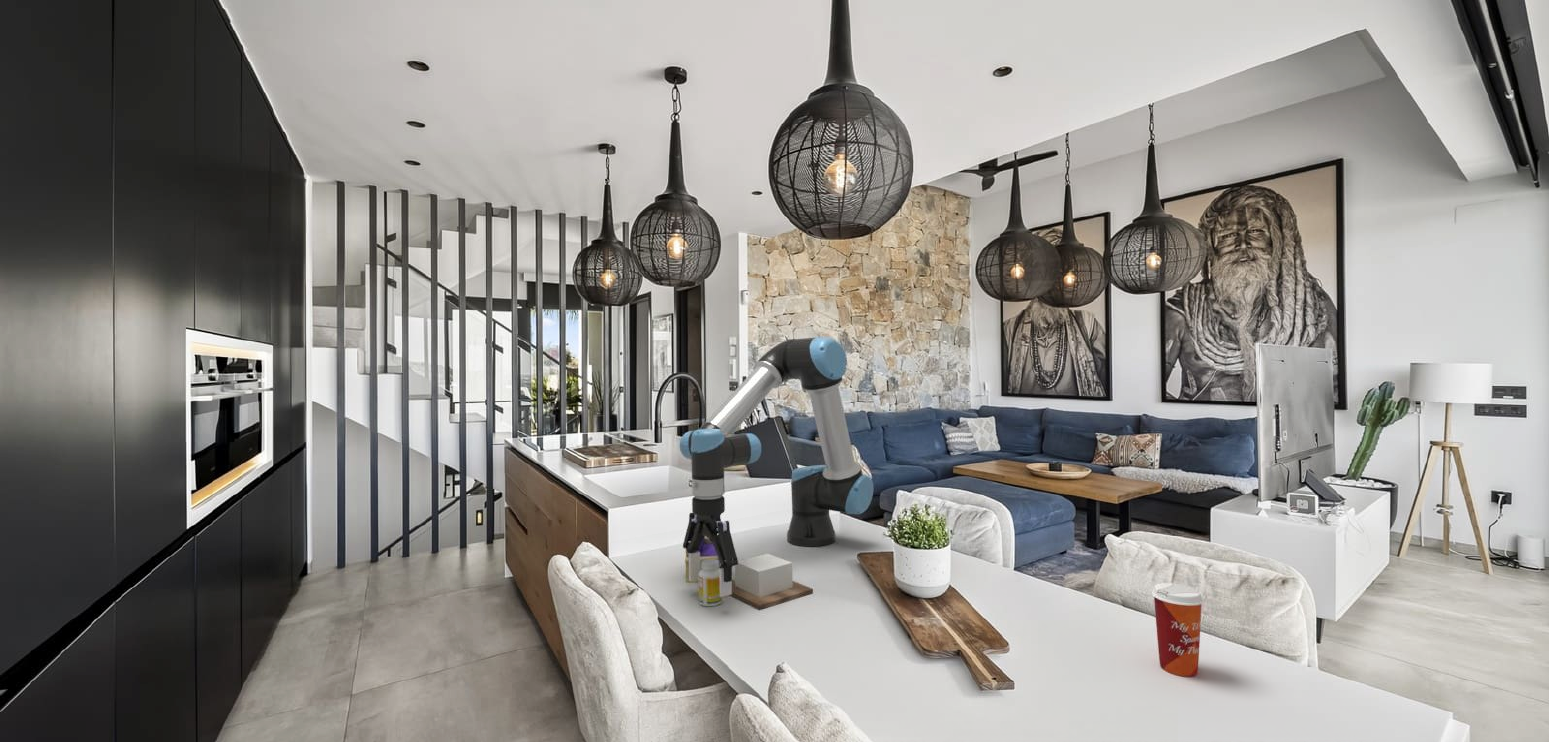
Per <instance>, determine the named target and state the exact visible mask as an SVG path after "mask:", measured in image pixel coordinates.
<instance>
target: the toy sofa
mask: <svg viewBox="0 0 1549 742" xmlns="http://www.w3.org/2000/svg"><path fill="white" fill-rule="evenodd" d="M689 542H690V541H689ZM689 542H688V543H689ZM699 548H700V549H699V551H696V552H700V571H701V570H702V567H701V563H702V561H704V560H708V559H715V560H718V561H719V567H720V566H721V563H720V560H719V558H718V555H717V553H716V550H715V548H714V545H713V543H712V542H711V541H710V540H709V538H707V537H706V536H705V537H704V539H703V541H702V543H701V545H700V547H699ZM684 549H685V557H684V562H685V576H686V577H685V579H686V580H685V581H686V583H699V580H695V581H689V553H688V552H687V549H686V548H684ZM719 567H718V569H719Z"/></svg>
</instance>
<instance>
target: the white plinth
mask: <svg viewBox="0 0 1549 742" xmlns="http://www.w3.org/2000/svg"><path fill="white" fill-rule="evenodd" d="M734 580H735V586H736V587H738V588H741V589H743V590H745V591H747V592H749V593H751V594H753V595H756V596H758V597H762V596H766V595H769V594H772V593H776V592H779V591H782V590H786V589H789V588H792V587H793V581H794V579H793V562H791V561H788V560H786V559H783V558H780V557H779V556H774V555H773V554H769V553H765V554H760V555H757V556H753V557H749V558H748V557H747V558H744V559H741V560H738V565H734Z"/></svg>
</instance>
